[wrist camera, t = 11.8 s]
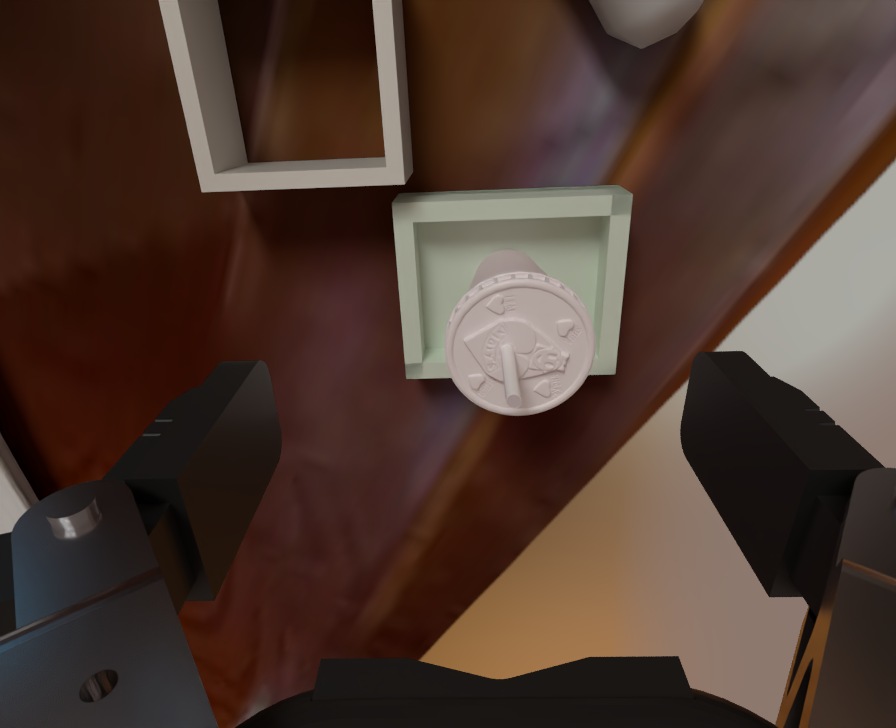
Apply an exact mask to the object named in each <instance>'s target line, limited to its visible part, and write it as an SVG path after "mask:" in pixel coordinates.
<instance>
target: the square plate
mask: <svg viewBox="0 0 896 728" xmlns="http://www.w3.org/2000/svg"><path fill="white" fill-rule="evenodd" d="M37 502H39V500H38V498H37V497H36V495H35V493H34V491H33V489H32V488H31V486H30V484H29V482H28V481H27V479H26V477H25V476H24V474H23V472H22V471H21V469H20V467H19V465H18V464H17V462H16V460H15V458H14V457H13V455H12V453H11V451H10V450H9V448H8V446H7V444H6V442H5V441H4V439H3V437H2V435H1V433H0V534H4V533H9V532H12V530H13V527H14V525H15V524H16V522H17V521H18V519H19V518H20V517H21V516H22V515H23V514H24V513H25V512H26V511H27V510H28V509H29V508H31V507H32V506H33V505H35V504H36V503H37Z"/></svg>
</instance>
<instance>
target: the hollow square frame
mask: <svg viewBox="0 0 896 728" xmlns="http://www.w3.org/2000/svg"><path fill="white" fill-rule="evenodd" d="M159 4H160V9H161V13H162V18H163V22H164V27H165V31H166V35H167V40H168V44H169V49H170V53H171V58H172V62H173V67H174V71H175V76H176V80H177V84H178V89H179V93H180V98H181V102H182V107H183V111H184V116H185V120H186V124H187V129H188V133H189V138H190V142H191V147H192V151H193V156H194V160H195V164H196V169H197V173H198V178H199V182H200V187H201V191H202V192H222V191H248V190H274V189H300V188H326V187H352V186H378V185H404V184H405V183H406V182H407V180H408V179H409V177H410V176H411V174H412V173H413V160H412V145H411V130H410V114H409V99H408V84H407V69H406V53H405V38H404V23H403V8H402V0H372V4H373V16H374V28H375V39H376V51H377V63H378V75H379V86H380V98H381V110H382V122H383V133H384V145H385V157H381V158H356V159H332V160H308V161H283V162H259V163H248V161H247V156H246V150H245V145H244V140H243V134H242V129H241V124H240V118H239V113H238V108H237V102H236V97H235V91H234V86H233V81H232V75H231V70H230V65H229V59H228V54H227V49H226V43H225V38H224V32H223V27H222V22H221V16H220V11H219V6H218V0H159Z"/></svg>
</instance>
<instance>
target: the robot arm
mask: <svg viewBox="0 0 896 728" xmlns="http://www.w3.org/2000/svg"><path fill="white" fill-rule="evenodd" d="M680 431H681V433H680V434H681V444H682V449H683V452H684V455H685V457H686V459H687V461H688V462H689V464H690V466H691V467H692V469H693V471H694V472H695V474H696V476H697V477H698V479H699V481H700V482H701V484H702V486H703V487H704V489H705V491H706V492H707V494H708V496H709V497H710V499H711V501H712V502H713V504H714V506H715V507H716V509H717V510H718V512H719V514H720V516H721V517H722V519H723V521H724V522H725V524H726V526H727V527H728V529H729V531H730V532H731V534H732V536H733V537H734V539H735V540H736V542H737V544H738V546H739V547H740V549H741V551H742V552H743V554H744V556H745V558H746V559H747V561H748V563H749V564H750V565H751V567H752V569H753V571H754V573H755V574H756V576H757V577H758V579H759V581H760V583H761V584H762V586H763V587H764V589H765V591H766V593H767V594H768V596H769V597H803V598H804V599H805V601H806V602H807V604H808V605H809V607H808V609H807V612H806V615H805V618H804V620H803V623H802V627H801V630H800V634H799V638H798V642H797V646H796V650H795V653H794V657H793V661H792V665H791V668H790V672H789V676H788V680H787V684H786V687H785V691H784V695H783V699H782V703H781V706H780V710H779V714H778V717H777V721H776V724H775V725H774V724H772V723H771V722H769V721H767V720H765V719H764V718H762V717H760V716H758V715H757V714H755V713H753V712H751V711H749V710H748V709H746V708H743V707H741V706H739V705H737V704H735V703H732V702H730V701H728V700H726V699H724V698H720V697H718V696H715V695H712V694H709V693H706V692H704V691H700V690H696V689H692V688H690V686H689V683H688V680H687V678H686V675H685V673H684V670H683V667H682V665H681V662H680V659H679V657H678V656H672V657H671V656H669V657H668V656H665V657H664V656H663V657H588V658H584V659H581V660H577V661H573V662H569V663H565V664H561V665H558V666H554V667H550V668H547V669H543V670H539V671H535V672H531V673H527V674H524V675H520V676H516V677H512V678H508V679H490V678H486V677H482V676H478V675H474V674H470V673H466V672H462V671H458V670H454V669H450V668H445V667H441V666H437V665H433V664H429V663H425V662H421V661H417V660H413V659H409V658H377V659H321V662H320V667H319V671H318V675H317V679H316V684H315V688H314V690H310V691H307V692H303V693H300V694H297V695H295V696H292V697H290V698H287V699H285V700H282V701H280V702H278V703H276V704H274V705H272V706H270V707H268V708H266V709H264V710H262V711H260V712H258V713H257V714H255V715H254V716H252V717H251V718H249V719H247V720H246V721H244V722H243V723H241V724H240V725H238V726H237V727H236V728H896V468H885V467H884V466H883V465H882V464H881V463H880V462H879V461H878V460H876V459H875V458H874V457H873V456H872V455H871V454H870V453H869V452H868V451H867V450H866V449H864V448H863V447H862V446H861V445H860V444H859V443H858V442H857V441H856V440H855V439H853V438H852V437H851V436H850V435H849V434H848V433H847V432H846V431H845V430H844V429H843V428H841V427H840V426H839V425H835V421H834V420H833V419H832V418H830V417H829V416H828V415H827V414H826V413H825V412H824V411H820V409H819V406H817V405H816V404H815V403H814V402H813V401H812V400H811V399H810V398H809V397H808V396H806V395H805V394H804V393H803V392H802V391H801V390H799V389H797V388H795V387H793V386H791V385H789V384H787V383H785V382H783V381H781V380H780V379H778V378H775V377H770V376H769V375H768V374H767V373H766V372H765V371H764V370H763V369H762V368H761V367H760V366H759V365H758V364H757V363H756V362H755V361H754V360H753V359H752V358H751V357H749V356H748V355H747V354H746V353H745V352H743V351H728V352H727V351H726V352H699V353H698V354H697V355H696V356H695V358H694V360H693V363H692V367H691V372H690V378H689V383H688V389H687V395H686V399H685V405H684V410H683V416H682V421H681V430H680ZM281 443H282V439H281V429H280V424H279V419H278V414H277V409H276V404H275V399H274V393H273V388H272V383H271V378H270V374H269V370H268V367H267V365H266V364H265V362H264V361H222V362H220V363H219V364H218V366H217V367H216V368H215V369H214V370H213V372H212V373H211V374H210V375H209V376H208V378H207V379H206V380H205V381H204V383H203V384H202V385H201V386H200V387H193V388H192V389H190V390H189V391H187V392H185V393H184V394H182V395H180V396H179V397H177V398H176V399H174V400H172V401H171V402H169V404H168V405H167V406H166V407H165V408H164V409H163V410H162V412H161V413H160V414H159V415H158V416H157V417H156V418H155V422H152V423H151V424H150V425H149V426H148V427H147V429H146V430H145V431H144V432H143V436H140V437H139V438H138V439H137V440H136V441H135V442H134V443H133V444H132V446H131V447H130V448H129V449H128V450H127V451H126V452H125V454H124V455H123V456H122V457H121V458H120V459H119V460H118V462H117V463H116V464H115V465H114V466H113V467H112V468H111V469H110V471H109V472H108V473H107V474H106V475H105V476H104V477H103V479H102V480H96V481H89V482H84V483H80V484H76V485H73V486H70V487H67V488H64V489H62V490H59V491H57V492H55V493H53V494H51V495H49V496H47V497H45V498H44V499H42V500H40V501H39V502H37V503H36V504H35V505H33V506H32V507H31V508H29V509H28V510H27V511H26V512H25V513H24V514H23V515H22V516H21V517H20V518H19V519H18V521H17V522H16V524H15V525H14V527H13V530H12V532H9V533H4V534H0V728H218V726H217V723H216V720H215V717H214V715H213V712H212V709H211V706H210V704H209V701H208V698H207V695H206V693H205V690H204V687H203V685H202V682H201V679H200V676H199V674H198V671H197V668H196V665H195V663H194V660H193V657H192V654H191V652H190V649H189V646H188V644H187V641H186V638H185V635H184V633H183V630H182V627H181V624H180V622H179V619H178V614H179V612H180V610H181V608H182V606H183V604H184V602H185V601H215V598H216V596H217V594H218V592H219V590H220V588H221V585H222V583H223V581H224V579H225V577H226V575H227V572H228V570H229V568H230V566H231V564H232V562H233V560H234V557H235V555H236V553H237V551H238V549H239V547H240V544H241V542H242V540H243V538H244V536H245V534H246V531H247V529H248V527H249V525H250V523H251V521H252V518H253V516H254V514H255V512H256V510H257V508H258V505H259V503H260V501H261V499H262V497H263V495H264V492H265V490H266V488H267V486H268V484H269V482H270V480H271V477H272V475H273V473H274V471H275V469H276V467H277V464H278V462H279V459H280V454H281Z"/></svg>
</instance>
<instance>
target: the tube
mask: <svg viewBox="0 0 896 728" xmlns="http://www.w3.org/2000/svg"><path fill="white" fill-rule="evenodd" d="M703 1H704V0H589V2H590V4H591V5H592V7H593V9H594V11H595V13H596V15H597V17H598V19H599V20H600V22H601V24H602V26H603V28H604V30H605V32H606V33H607V34H608V35H610V36H612V37H615V38H617V39H619V40H622V41H624V42H626V43H629V44H631V45H633V46H635V47H637V48H640V49H643V48H645V47H647V46H649V45H651V44H654V43H656V42H658V41H660V40H662V39H664V38H667V37H669V36H671V35H673V34H675V33H677V32H678V31H679V30H680V29H681V28H682V27H683V26H684V25H685V24H686V22H687V21H688V20H689V19H690V18H691V17H692V16H693V15H694V14H695V13H696V12H697V11H698V10H699V8H700V6H701V4H702V3H703Z"/></svg>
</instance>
